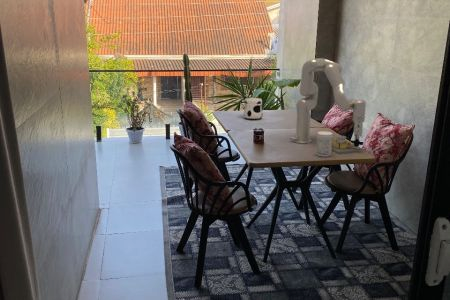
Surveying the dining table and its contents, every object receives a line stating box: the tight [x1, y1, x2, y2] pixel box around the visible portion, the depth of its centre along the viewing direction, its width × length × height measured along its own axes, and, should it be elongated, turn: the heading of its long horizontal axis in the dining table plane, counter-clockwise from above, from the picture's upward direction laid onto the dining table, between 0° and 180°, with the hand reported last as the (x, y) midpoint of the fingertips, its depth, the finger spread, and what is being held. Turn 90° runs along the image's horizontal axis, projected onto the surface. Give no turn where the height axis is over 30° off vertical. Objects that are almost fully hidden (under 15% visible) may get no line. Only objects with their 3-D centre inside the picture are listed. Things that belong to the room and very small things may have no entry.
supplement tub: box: [315, 131, 333, 158], centre depth 281 cm, size 10×10×15 cm
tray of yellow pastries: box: [332, 135, 360, 155], centre depth 296 cm, size 16×20×9 cm
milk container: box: [243, 97, 264, 121], centre depth 395 cm, size 17×17×18 cm
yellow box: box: [332, 138, 358, 149], centre depth 296 cm, size 17×12×5 cm
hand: (356, 145), depth 293 cm, fingers closed
